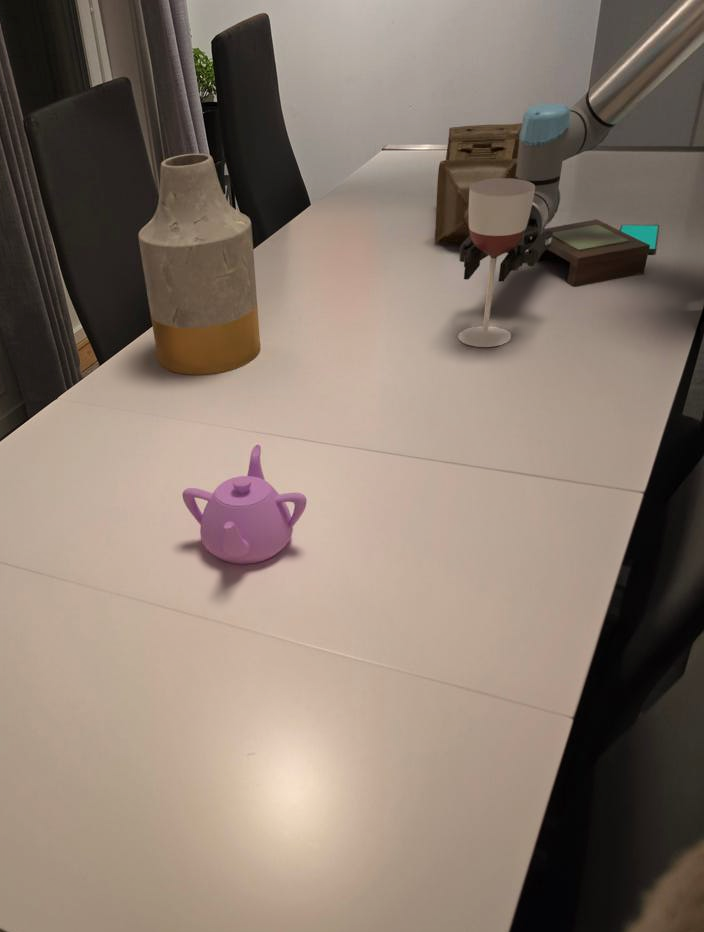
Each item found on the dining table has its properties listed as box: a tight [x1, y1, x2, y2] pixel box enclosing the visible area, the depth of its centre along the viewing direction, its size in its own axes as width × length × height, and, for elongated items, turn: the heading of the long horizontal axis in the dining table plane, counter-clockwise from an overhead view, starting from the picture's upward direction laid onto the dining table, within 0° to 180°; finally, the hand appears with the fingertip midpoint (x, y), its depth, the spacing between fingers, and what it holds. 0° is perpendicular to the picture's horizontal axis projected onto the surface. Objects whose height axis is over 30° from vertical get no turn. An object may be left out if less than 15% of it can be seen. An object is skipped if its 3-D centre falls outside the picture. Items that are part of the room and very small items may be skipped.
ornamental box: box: [434, 122, 522, 244], centre depth 176 cm, size 35×18×18 cm, turn 164°
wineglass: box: [457, 178, 535, 348], centre depth 134 cm, size 9×10×23 cm
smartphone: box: [619, 224, 660, 254], centre depth 167 cm, size 7×1×15 cm
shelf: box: [527, 219, 650, 287], centre depth 159 cm, size 18×14×5 cm
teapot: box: [181, 444, 307, 565], centre depth 101 cm, size 12×14×9 cm
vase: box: [138, 153, 261, 376], centre depth 138 cm, size 18×18×30 cm
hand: (484, 271), depth 130 cm, fingers closed on wineglass, 5 cm apart
